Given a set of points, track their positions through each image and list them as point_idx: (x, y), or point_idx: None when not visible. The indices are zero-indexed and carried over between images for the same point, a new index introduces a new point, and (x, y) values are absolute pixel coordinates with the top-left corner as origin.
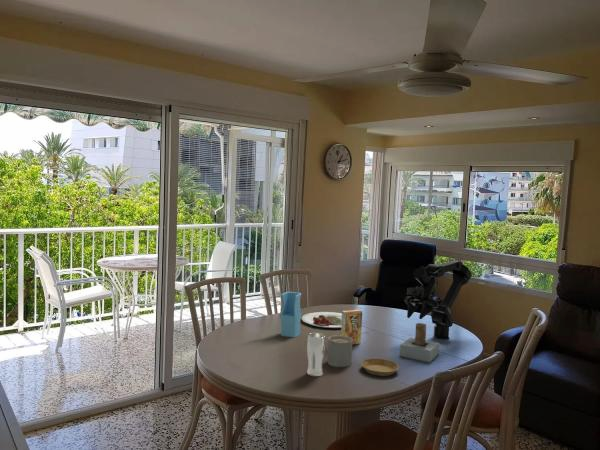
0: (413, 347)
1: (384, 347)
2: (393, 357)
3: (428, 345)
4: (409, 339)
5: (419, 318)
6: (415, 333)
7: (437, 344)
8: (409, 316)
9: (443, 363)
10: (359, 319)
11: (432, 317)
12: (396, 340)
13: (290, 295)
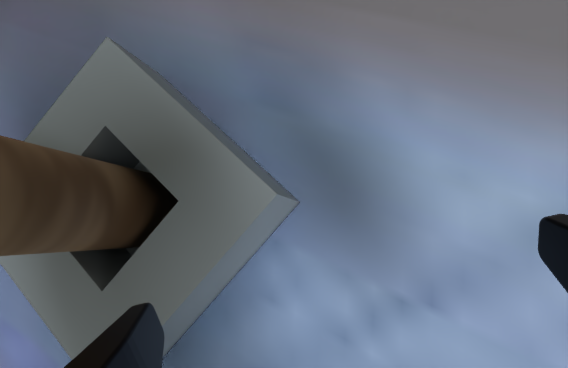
0: (43, 118)
1: (329, 9)
2: (139, 26)
3: (60, 260)
4: (217, 156)
5: (142, 306)
6: (42, 146)
7: (69, 355)
8: (566, 269)
9: (16, 299)
10: None
11: None
12: (520, 158)
13: None
